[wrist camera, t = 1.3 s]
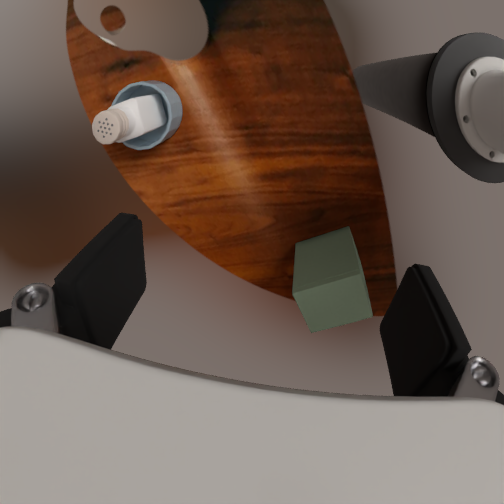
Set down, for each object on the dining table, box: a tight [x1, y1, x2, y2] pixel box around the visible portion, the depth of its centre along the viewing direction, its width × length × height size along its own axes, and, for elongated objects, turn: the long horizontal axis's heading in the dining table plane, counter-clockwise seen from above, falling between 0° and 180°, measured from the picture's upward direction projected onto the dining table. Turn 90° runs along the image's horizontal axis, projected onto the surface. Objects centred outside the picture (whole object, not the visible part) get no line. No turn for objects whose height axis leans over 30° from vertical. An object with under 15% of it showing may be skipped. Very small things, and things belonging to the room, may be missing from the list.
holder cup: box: [112, 80, 182, 150], centre depth 30 cm, size 8×8×3 cm
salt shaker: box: [92, 94, 167, 144], centre depth 27 cm, size 4×4×10 cm
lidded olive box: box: [292, 226, 373, 333], centre depth 34 cm, size 7×6×10 cm
